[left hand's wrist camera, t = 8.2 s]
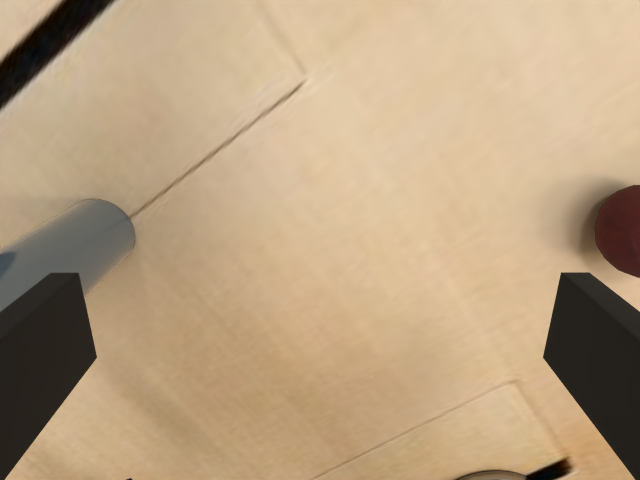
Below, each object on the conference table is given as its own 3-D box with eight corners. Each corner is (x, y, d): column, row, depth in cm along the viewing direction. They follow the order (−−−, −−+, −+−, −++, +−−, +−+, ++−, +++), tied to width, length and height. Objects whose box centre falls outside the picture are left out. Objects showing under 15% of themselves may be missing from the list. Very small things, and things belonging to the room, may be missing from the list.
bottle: (77, 268, 43) (-203, 505, 20) (54, 203, 41) (-293, 388, 18) (143, 259, 43) (-65, 491, 20) (123, 194, 40) (-138, 369, 17)
